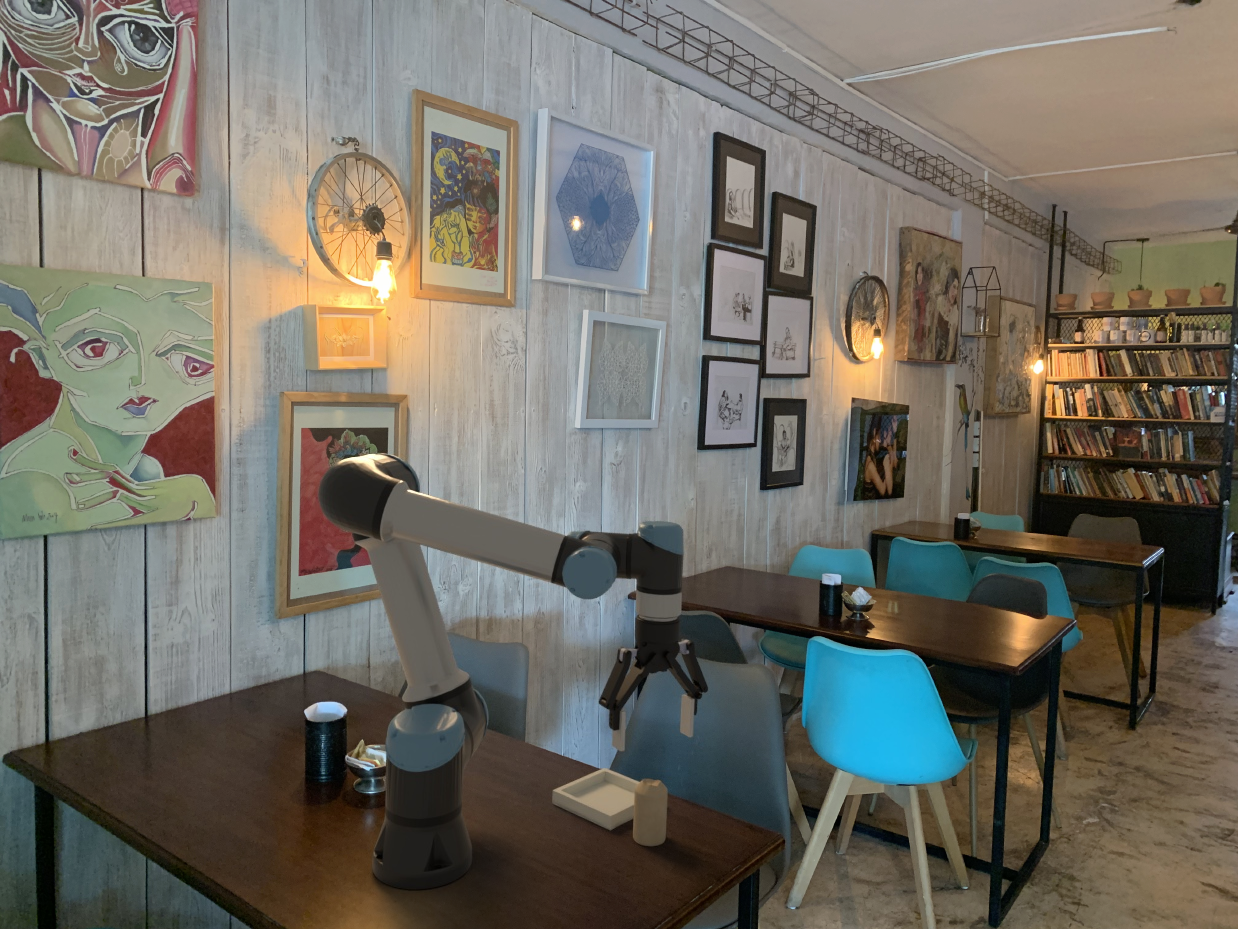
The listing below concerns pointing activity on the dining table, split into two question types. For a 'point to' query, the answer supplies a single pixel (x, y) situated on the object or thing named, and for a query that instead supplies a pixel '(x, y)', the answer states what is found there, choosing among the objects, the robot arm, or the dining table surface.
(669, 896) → the dining table surface
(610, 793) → the dish
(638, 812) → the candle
